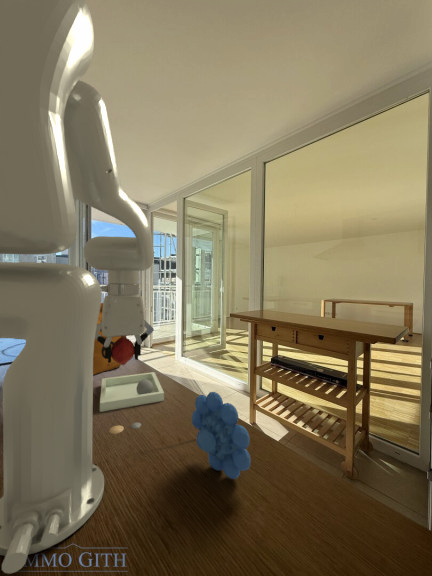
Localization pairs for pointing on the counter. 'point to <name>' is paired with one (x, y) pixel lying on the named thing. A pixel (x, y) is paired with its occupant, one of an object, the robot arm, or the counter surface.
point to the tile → (120, 428)
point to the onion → (122, 350)
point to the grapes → (221, 435)
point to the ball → (144, 387)
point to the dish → (128, 391)
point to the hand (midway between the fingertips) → (123, 359)
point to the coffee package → (102, 352)
